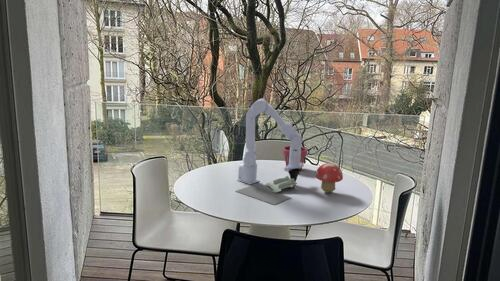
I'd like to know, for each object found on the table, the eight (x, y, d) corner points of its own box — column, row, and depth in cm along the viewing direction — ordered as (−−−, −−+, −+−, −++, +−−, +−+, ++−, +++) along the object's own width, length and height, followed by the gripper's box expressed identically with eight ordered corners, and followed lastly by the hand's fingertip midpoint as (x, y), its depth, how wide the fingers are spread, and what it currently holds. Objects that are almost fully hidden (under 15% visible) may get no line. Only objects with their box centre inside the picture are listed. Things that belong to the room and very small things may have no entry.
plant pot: (279, 170, 222) (280, 149, 219) (284, 164, 235) (285, 144, 232) (303, 173, 218) (305, 152, 215) (307, 167, 231) (308, 147, 228)
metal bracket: (288, 172, 198) (299, 180, 184) (290, 182, 199) (302, 191, 185) (263, 181, 195) (272, 189, 181) (265, 191, 196) (275, 200, 182)
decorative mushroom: (321, 198, 179) (323, 167, 176) (309, 188, 191) (311, 160, 188) (346, 196, 182) (349, 166, 179) (333, 187, 195) (335, 159, 192)
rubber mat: (235, 191, 183) (235, 190, 183) (253, 185, 193) (253, 185, 193) (274, 205, 168) (274, 204, 168) (291, 198, 177) (291, 197, 177)
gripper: (293, 160, 186) (291, 186, 189) (309, 156, 197) (307, 180, 200) (281, 158, 191) (280, 183, 193) (298, 153, 201) (296, 177, 204)
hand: (293, 182), depth 197 cm, fingers closed
